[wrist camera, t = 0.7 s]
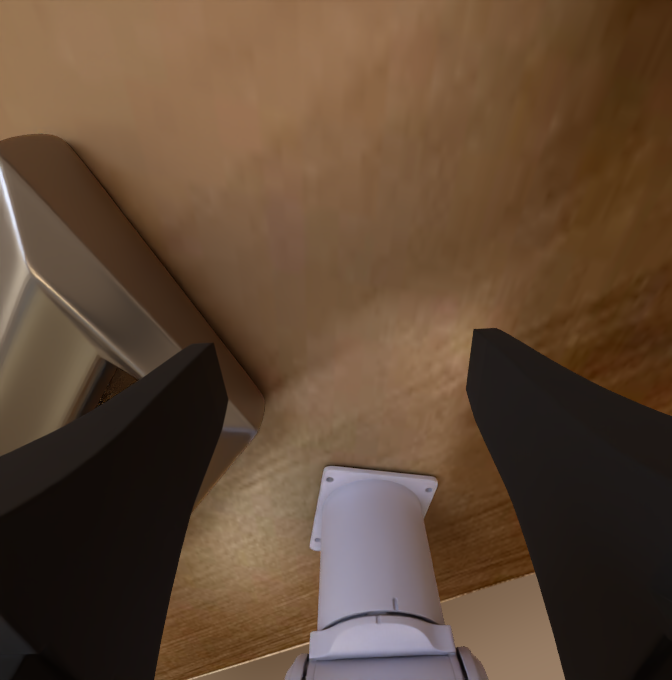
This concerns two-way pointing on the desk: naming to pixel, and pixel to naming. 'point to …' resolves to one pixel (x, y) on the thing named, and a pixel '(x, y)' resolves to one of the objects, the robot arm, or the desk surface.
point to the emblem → (89, 304)
